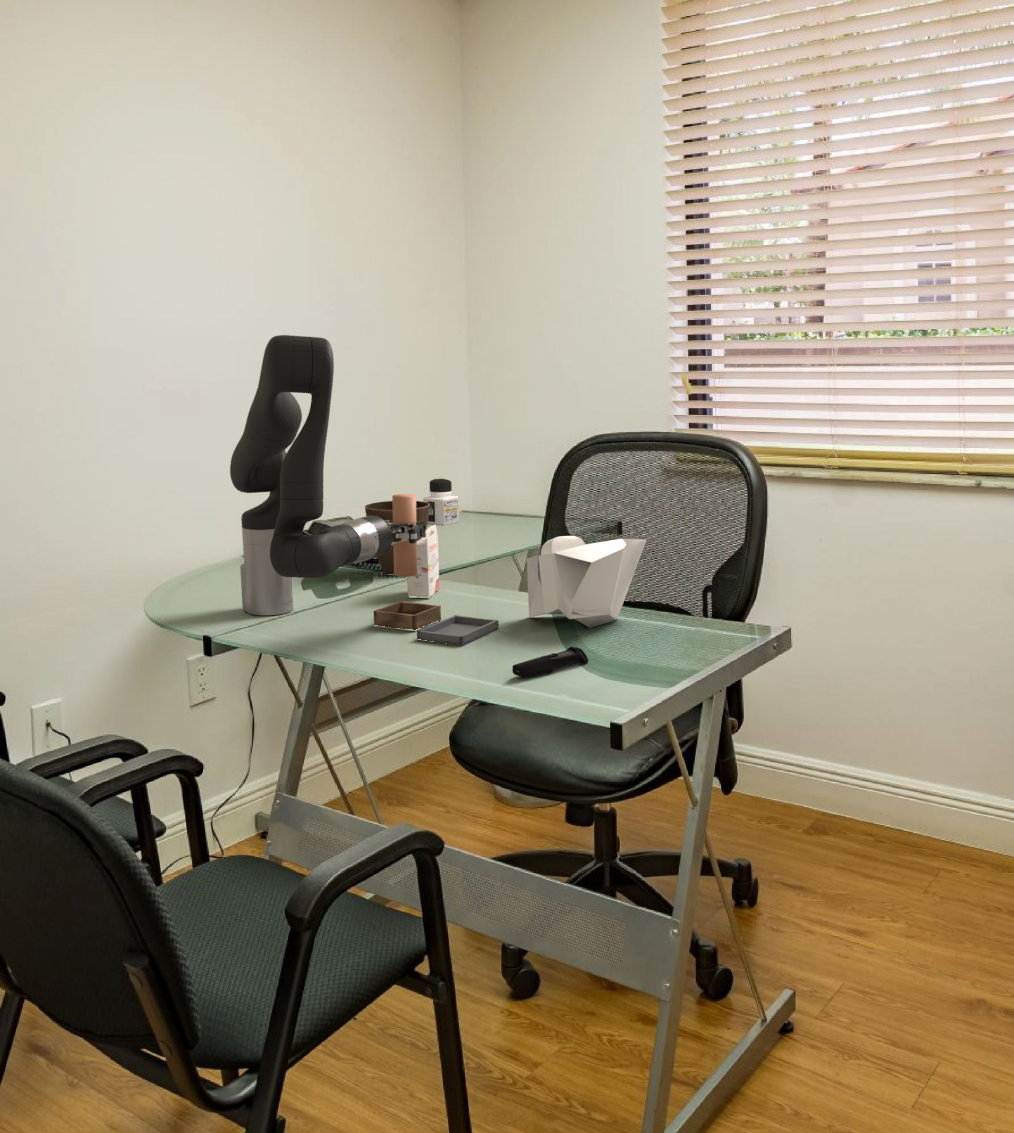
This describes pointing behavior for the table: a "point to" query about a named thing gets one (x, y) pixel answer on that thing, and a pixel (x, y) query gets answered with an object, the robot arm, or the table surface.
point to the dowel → (404, 550)
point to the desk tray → (458, 630)
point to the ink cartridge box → (426, 566)
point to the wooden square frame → (407, 615)
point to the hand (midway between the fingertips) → (412, 525)
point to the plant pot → (386, 513)
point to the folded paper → (582, 578)
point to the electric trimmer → (550, 662)
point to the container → (442, 503)
